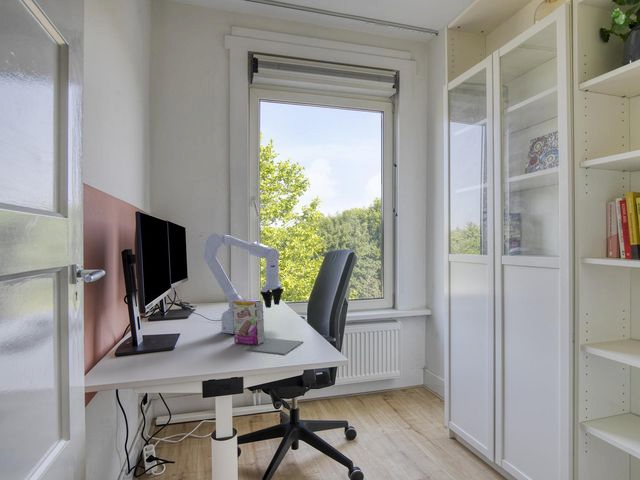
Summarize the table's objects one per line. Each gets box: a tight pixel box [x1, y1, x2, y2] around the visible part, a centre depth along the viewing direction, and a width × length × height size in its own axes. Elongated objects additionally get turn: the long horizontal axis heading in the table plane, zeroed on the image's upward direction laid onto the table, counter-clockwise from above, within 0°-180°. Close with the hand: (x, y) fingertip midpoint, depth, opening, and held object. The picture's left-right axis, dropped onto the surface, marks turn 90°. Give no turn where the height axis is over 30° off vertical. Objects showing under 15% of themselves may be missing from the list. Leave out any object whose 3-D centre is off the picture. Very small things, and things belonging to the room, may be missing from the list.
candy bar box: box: [232, 298, 265, 346], centre depth 144 cm, size 11×5×16 cm, turn 65°
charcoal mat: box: [244, 337, 304, 356], centre depth 140 cm, size 16×16×1 cm
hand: (272, 306), depth 166 cm, fingers open, 7 cm apart
